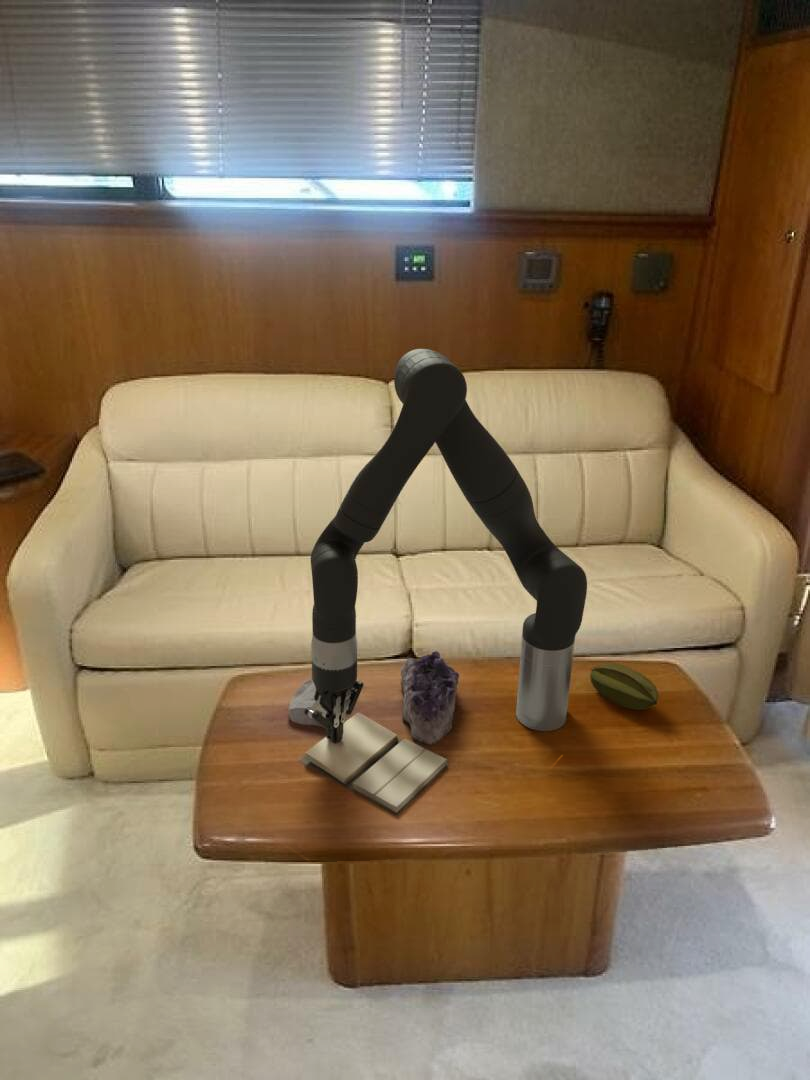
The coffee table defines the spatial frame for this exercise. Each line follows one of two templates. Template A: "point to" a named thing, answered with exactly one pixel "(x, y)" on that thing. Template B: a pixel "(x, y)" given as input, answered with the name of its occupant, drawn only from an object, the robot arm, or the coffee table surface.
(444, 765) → the laid floor
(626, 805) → the coffee table surface
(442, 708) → the geode
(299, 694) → the stone block
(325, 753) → the beige flat rectangular panel
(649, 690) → the fruit
